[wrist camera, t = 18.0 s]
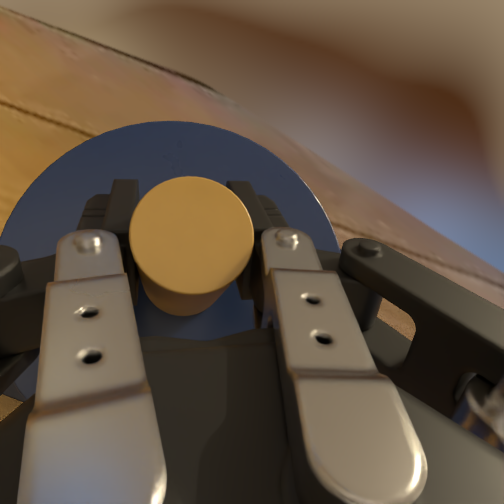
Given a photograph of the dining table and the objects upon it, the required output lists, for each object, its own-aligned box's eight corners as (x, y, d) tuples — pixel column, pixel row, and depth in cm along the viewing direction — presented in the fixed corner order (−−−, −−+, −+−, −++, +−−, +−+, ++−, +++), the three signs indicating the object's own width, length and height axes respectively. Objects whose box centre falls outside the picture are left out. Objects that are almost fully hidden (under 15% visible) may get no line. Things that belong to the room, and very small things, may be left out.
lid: (265, 108, 17) (315, -18, 11) (381, 370, 15) (513, 380, 10) (-38, 183, 14) (-186, 59, 8) (64, 529, 12) (-32, 694, 6)
